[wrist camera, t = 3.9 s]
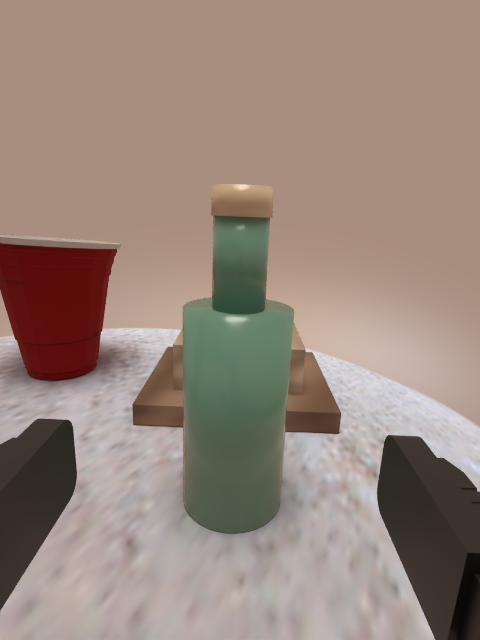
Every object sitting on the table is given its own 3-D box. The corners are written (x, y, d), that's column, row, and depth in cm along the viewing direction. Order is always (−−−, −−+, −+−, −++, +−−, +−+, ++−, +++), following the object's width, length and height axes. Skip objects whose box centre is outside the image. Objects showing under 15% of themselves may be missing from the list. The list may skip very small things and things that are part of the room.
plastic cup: (150, 361, 38) (147, 235, 35) (51, 405, 29) (34, 240, 26) (74, 341, 43) (66, 230, 40) (-31, 373, 34) (-53, 231, 31)
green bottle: (175, 530, 18) (171, 179, 14) (190, 463, 23) (191, 188, 19) (284, 535, 18) (311, 184, 14) (276, 467, 23) (295, 192, 19)
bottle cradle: (133, 424, 27) (130, 355, 25) (168, 361, 38) (167, 311, 37) (338, 433, 26) (346, 364, 25) (311, 367, 38) (315, 317, 37)
